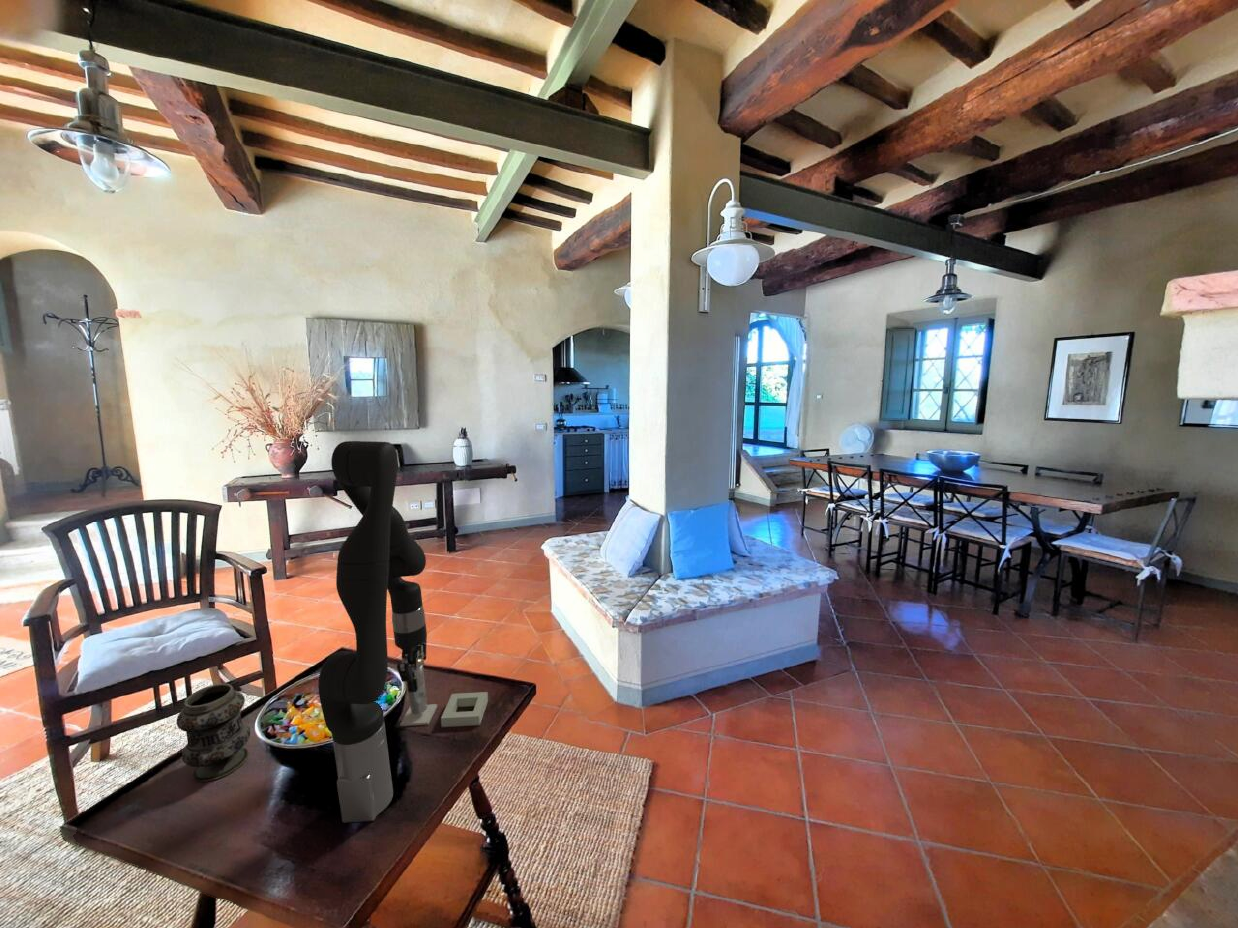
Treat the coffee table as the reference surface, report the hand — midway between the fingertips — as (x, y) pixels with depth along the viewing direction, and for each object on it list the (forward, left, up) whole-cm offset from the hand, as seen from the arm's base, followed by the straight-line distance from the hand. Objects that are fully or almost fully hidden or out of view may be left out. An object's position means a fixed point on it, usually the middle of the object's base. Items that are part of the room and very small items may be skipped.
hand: (416, 685), depth 124 cm
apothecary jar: (-13, +40, -9) cm, 43 cm away
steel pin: (0, 0, -7) cm, 7 cm away
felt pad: (0, 0, -9) cm, 9 cm away
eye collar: (0, -12, -9) cm, 15 cm away
